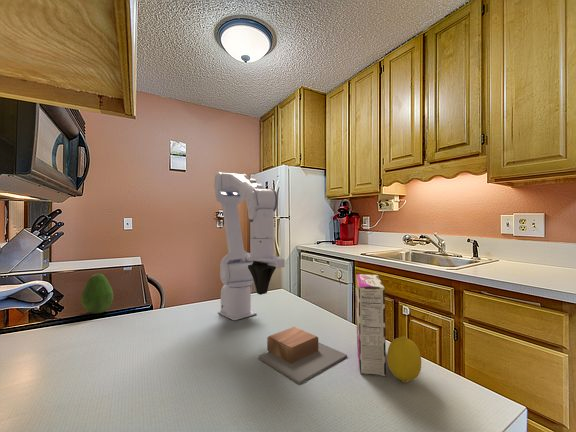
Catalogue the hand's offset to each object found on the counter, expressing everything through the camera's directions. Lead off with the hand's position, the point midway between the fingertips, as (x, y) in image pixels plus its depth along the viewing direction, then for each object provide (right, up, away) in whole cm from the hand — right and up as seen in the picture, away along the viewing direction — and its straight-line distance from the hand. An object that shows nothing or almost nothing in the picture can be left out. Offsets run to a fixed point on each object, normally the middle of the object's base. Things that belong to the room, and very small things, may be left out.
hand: (262, 293), depth 68 cm
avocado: (-52, -11, +16) cm, 55 cm away
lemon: (+27, -10, -19) cm, 34 cm away
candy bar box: (+23, -11, -12) cm, 28 cm away
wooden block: (+5, -8, -5) cm, 11 cm away
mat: (+9, -10, -10) cm, 18 cm away
